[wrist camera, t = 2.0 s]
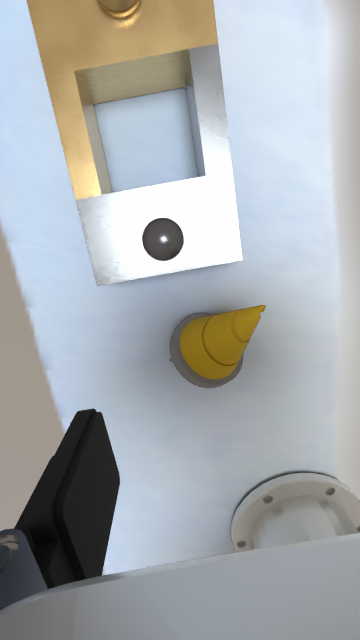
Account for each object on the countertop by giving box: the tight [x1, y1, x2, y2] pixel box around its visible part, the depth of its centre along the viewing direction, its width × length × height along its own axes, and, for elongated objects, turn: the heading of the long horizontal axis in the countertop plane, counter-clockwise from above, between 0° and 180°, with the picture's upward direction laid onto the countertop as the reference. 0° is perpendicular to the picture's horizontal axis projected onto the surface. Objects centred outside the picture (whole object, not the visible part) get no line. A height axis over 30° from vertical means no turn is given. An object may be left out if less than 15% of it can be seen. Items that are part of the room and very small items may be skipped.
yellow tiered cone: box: [170, 305, 266, 388], centre depth 20 cm, size 5×5×10 cm
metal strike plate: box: [27, 0, 243, 286], centre depth 18 cm, size 16×9×5 cm, turn 10°
